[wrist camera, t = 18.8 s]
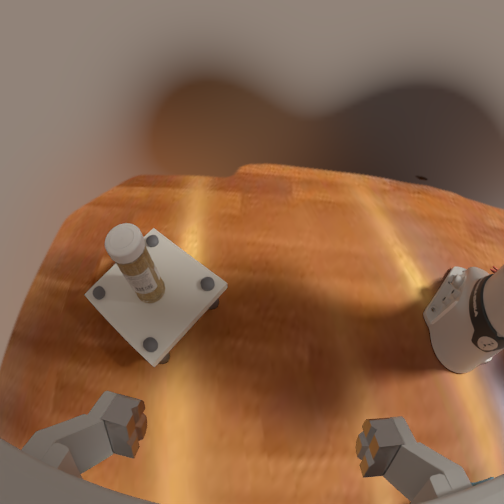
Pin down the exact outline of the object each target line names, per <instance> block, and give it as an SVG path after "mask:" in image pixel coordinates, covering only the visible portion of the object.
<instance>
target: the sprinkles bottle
mask: <svg viewBox="0 0 504 504" xmlns="http://www.w3.org/2000/svg"><path fill="white" fill-rule="evenodd" d="M105 248H106V250H107V252H108V254H109V256H110V257H111V259H112V260H113V261H115V262H116V264H117V265H118V267H119V269H120V271H121V272H122V274H123V275H124V277H125V278H126V280H127V281H128V283H129V284H130V286H131V287H132V289H133V290H134V291H135V292H136V294H137V296H138V298H139V299H140V300H141V301H143V302H145V303H154V302H156V301H158V300H160V299H161V298H162V296H163V295H164V293H165V284H164V281H163V280H162V279H161V277H160V275H159V272H158V270H157V268H156V266H155V264H154V262H153V261H152V259H151V257H150V254H149V252H148V250H147V248H146V246H145V240H144V238H143V235H142V233H141V231H140V230H139V228H138V227H137V226H135V225H133V224H129V223H125V224H120V225H118V226H116V227H114V228H113V229H112V230H111V231H110V232H109V233H108V235H107V236H106V239H105Z"/></svg>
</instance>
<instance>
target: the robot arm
mask: <svg viewBox="0 0 504 504" xmlns="http://www.w3.org/2000/svg"><path fill="white" fill-rule="evenodd" d="M493 268H494V269H495V270H494V269H490V270H491V271H492V272H493V273H494V274H491V275H490V274H488V273H487V272H486V271H484V270H482V269H480V268H477V267H470V268H468V269H467V270H466V269H464V268H461V267H453V268H452V269H451V270H450V272H449V273H448V275H447V277H446V278H445V280H444V282H443V283H442V285H441V286H440V288H439V289H438V291H437V292H436V294H435V295H434V297H433V298H432V300H431V301H430V303H429V304H428V306H427V307H426V309H425V310H424V312H423V316H424V319H425V321H426V323H427V325H428V327H429V330H430V337H431V343H432V347H433V349H434V352H435V354H436V356H437V358H438V359H439V361H440V362H441V363H442V364H443V365H444V366H445V367H446V368H447V369H449V370H451V371H453V372H456V373H467V372H469V371H471V370H473V369H474V368H475V367H477V366H478V365H480V364H485V363H488V362H489V361H491V360H492V357H493V356H494V355H495V354H497V353H498V352H500V351H501V350H503V349H504V264H503V266H502V267H501V268H500V269H499V270H498V269H497V268H496V267H494V266H493ZM431 309H432V310H433V311H432V310H431ZM144 410H145V404H144V401H143V400H140V399H136V398H132V397H128V396H125V395H121V394H116V393H113V392H110V391H105V392H104V393H103V394H102V396H101V397H100V398H99V400H98V401H97V402H96V404H95V405H94V407H93V408H92V409H91V411H90V412H89V413H88V415H85V414H83V415H80V416H78V417H75V418H73V419H70V420H67V421H65V422H62V423H59V424H56V425H54V426H51V427H48V428H45V429H42V430H39V431H36V432H35V434H34V435H33V436H32V437H31V438H30V440H29V441H28V442H27V443H26V445H25V446H24V447H23V448H22V450H20V449H18V448H17V447H15V446H13V445H11V444H10V443H8V442H6V441H5V440H3V439H1V438H0V504H159V503H155V502H151V501H147V500H143V499H140V498H136V497H133V496H129V495H126V494H123V493H119V492H116V491H113V490H110V489H107V488H104V487H102V486H99V485H96V484H93V483H91V482H88V481H86V480H83V478H82V476H81V474H82V473H83V472H85V471H87V470H88V469H90V468H92V467H93V466H95V465H97V464H98V463H100V462H101V461H103V460H105V459H106V458H108V457H109V456H111V455H113V453H115V454H119V455H122V456H126V457H130V458H135V456H136V453H137V451H138V449H139V447H140V446H139V441H140V440H142V439H143V438H144V436H145V433H146V429H147V417H146V415H145V414H144V413H143V412H144ZM362 428H363V432H362V433H360V434H359V435H358V438H357V440H356V454H357V457H358V458H359V459H361V460H362V461H361V463H360V468H361V472H362V475H363V477H374V476H383V477H384V478H385V479H387V480H388V481H389V482H390V483H391V484H392V485H393V486H394V487H395V488H396V489H397V490H399V491H400V492H401V493H402V494H403V495H404V496H405V497H406V498H407V499H409V500H410V501H411V503H410V504H504V474H502V475H500V476H498V477H495V478H493V479H491V480H488V481H486V482H483V483H481V484H478V485H476V486H472V484H471V482H470V481H469V479H468V477H467V475H466V473H465V472H464V470H463V468H462V467H461V466H459V465H458V464H456V463H454V462H452V461H451V460H449V459H447V458H445V457H444V456H442V455H440V454H439V453H437V452H435V451H433V450H432V449H430V448H428V447H427V446H425V445H423V444H422V443H417V442H416V440H415V438H414V436H413V434H412V432H411V430H410V429H409V427H408V425H407V423H406V421H405V419H404V418H403V417H402V416H399V417H390V418H379V419H366V420H365V421H364V423H363V426H362Z"/></svg>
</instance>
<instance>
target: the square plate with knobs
mask: <svg viewBox="0 0 504 504" xmlns="http://www.w3.org/2000/svg"><path fill="white" fill-rule="evenodd" d="M143 238H144V240H145V246H146V248H147V250H148V252H149V254H150V257H151V259H152V261H153V262H154V264H155V266H156V268H157V270H158V272H159V275H160V277H161V279H162V280H163V281H164V284H165V293H164V295H163V296H162V298H161V299H160V300H158V301H156V302H154V303H145V302H143V301H141V300H140V299H139V298H138V296H137V294H136V292H135V291H134V290H133V289H132V287H131V286H130V284H129V283H128V281H127V280H126V278H125V277H124V275H123V274H122V272H121V271H120V269H119V267H118V265H117V264H115V265H114V266H112V267H111V268H110V269H109V270H108V271H107V272H106V273H105V274H104V275H103V276H102V277H101V278H100V279H99V280H98V281H97V282H96V283H95V284H94V285H93V286H92V287H91V288H90V289H89V290H88V291H87V292H86V293H85V294H84V295H85V296H86V297H87V299H88V300H89V301H90V302H91V303H92V304H93V305H94V307H95V308H96V309H97V310H98V311H99V312H100V313H101V314H102V315H103V317H104V318H105V319H106V320H107V321H108V322H109V323H110V324H111V325H112V326H113V327H114V328H115V329H116V330H117V331H118V332H119V333H120V335H121V336H122V337H123V338H124V339H125V340H126V341H127V342H128V343H129V344H130V345H131V346H132V347H133V348H134V349H135V350H136V351H137V352H138V353H139V354H141V355H142V356H143V357H144V358H145V359H146V360H147V361H148V362H149V363H150V364H151V365H152V366H153V367H156V365H157V364H158V363H160V364H164V363H166V362H168V360H169V358H170V355H169V351H170V350H171V349H172V348H173V347H174V346H175V345H176V344H177V343H178V341H179V340H180V339H181V338H182V337H183V336H184V335H185V334H186V333H187V332H188V330H189V329H190V328H191V327H192V326H193V325H194V324H195V323H196V322H197V321H198V320H199V318H200V317H201V316H202V315H203V314H204V313H205V312H206V311H207V310H208V309H215V308H216V307H217V306H218V305H219V299H218V298H219V296H220V295H221V294H222V293H223V292H224V291H225V290H226V289H227V288H228V286H227V282H225V281H224V280H222V279H221V278H220V277H218V276H217V275H216V274H214V273H213V272H211V271H210V270H209V269H207V268H206V267H205V266H203V265H202V264H201V263H199V262H198V261H197V260H195V259H194V258H193V257H191V256H190V255H189V254H187V253H186V252H185V251H183V250H182V249H181V248H179V247H178V246H177V245H175V244H174V243H173V242H171V241H170V240H169V239H167V238H166V237H165V236H163V235H162V234H161V233H159V232H158V231H157V230H156V229H154V228H153V229H152V230H151V231H150V232H149V233H148V234H147V235H146V236H144V237H143Z"/></svg>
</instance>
